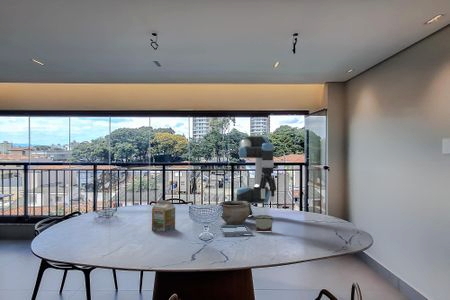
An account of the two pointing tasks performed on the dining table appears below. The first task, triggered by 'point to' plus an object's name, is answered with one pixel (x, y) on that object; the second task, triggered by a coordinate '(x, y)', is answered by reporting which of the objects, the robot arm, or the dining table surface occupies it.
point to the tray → (235, 231)
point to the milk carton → (163, 216)
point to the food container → (263, 222)
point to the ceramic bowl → (235, 211)
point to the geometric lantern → (105, 193)
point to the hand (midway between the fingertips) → (267, 200)
